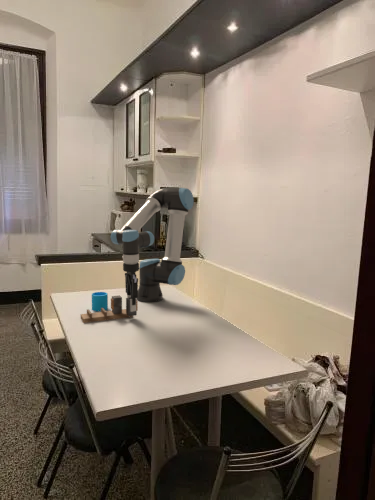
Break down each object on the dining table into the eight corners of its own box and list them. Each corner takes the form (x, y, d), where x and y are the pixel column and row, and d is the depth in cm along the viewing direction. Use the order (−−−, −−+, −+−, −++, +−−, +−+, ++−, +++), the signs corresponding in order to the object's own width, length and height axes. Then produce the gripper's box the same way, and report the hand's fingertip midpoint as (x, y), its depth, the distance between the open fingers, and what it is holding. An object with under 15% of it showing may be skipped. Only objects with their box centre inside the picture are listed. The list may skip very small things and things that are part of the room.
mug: (109, 310, 203) (109, 295, 202) (93, 312, 200) (93, 296, 198) (103, 304, 214) (103, 289, 213) (88, 305, 210) (88, 291, 209)
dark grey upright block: (135, 312, 193) (135, 296, 191) (137, 315, 189) (137, 299, 188) (126, 313, 191) (126, 297, 189) (128, 316, 187) (128, 300, 186)
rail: (128, 312, 200) (128, 293, 199) (132, 316, 194) (132, 297, 192) (80, 318, 190) (80, 298, 188) (83, 322, 183) (83, 302, 182)
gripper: (118, 259, 191) (119, 305, 196) (128, 266, 176) (129, 316, 181) (133, 258, 195) (133, 303, 199) (144, 265, 180) (145, 314, 184)
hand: (131, 309), depth 190 cm, fingers closed on dark grey upright block, 4 cm apart
